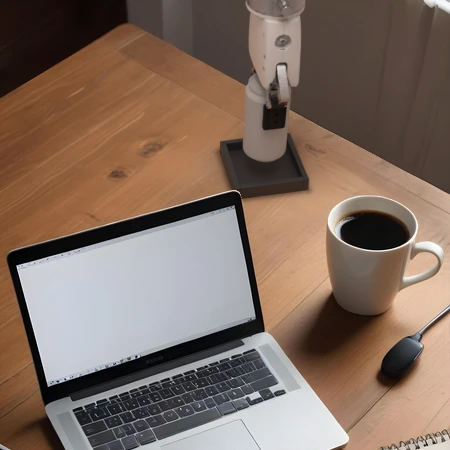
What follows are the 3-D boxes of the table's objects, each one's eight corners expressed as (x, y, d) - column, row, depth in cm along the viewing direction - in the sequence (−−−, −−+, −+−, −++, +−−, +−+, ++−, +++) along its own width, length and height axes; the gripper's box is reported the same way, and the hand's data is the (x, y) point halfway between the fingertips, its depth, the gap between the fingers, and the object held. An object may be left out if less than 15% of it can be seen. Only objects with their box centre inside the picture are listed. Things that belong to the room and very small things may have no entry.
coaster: (288, 143, 131) (289, 132, 129) (307, 190, 124) (309, 179, 123) (219, 151, 129) (219, 140, 128) (235, 199, 123) (235, 188, 121)
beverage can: (263, 171, 121) (268, 101, 112) (233, 149, 124) (236, 80, 115) (294, 152, 124) (302, 83, 115) (264, 132, 127) (269, 62, 117)
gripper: (324, 28, 100) (309, 148, 114) (287, -43, 111) (277, 74, 124) (263, 34, 99) (255, 154, 113) (231, -38, 109) (228, 80, 123)
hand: (267, 111), depth 118 cm, fingers closed on beverage can, 6 cm apart
